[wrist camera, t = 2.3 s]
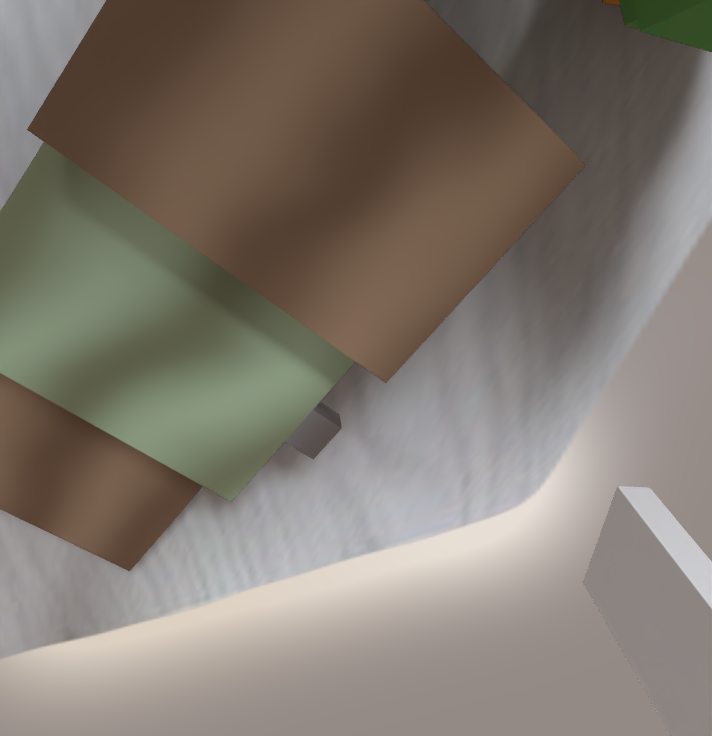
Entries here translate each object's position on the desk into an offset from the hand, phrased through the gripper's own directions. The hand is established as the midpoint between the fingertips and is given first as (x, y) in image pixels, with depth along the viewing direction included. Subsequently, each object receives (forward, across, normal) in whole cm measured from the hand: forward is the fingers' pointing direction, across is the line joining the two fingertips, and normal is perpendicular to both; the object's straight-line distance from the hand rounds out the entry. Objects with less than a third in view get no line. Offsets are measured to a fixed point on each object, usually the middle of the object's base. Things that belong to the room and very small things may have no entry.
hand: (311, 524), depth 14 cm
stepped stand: (+23, -5, -2) cm, 23 cm away
